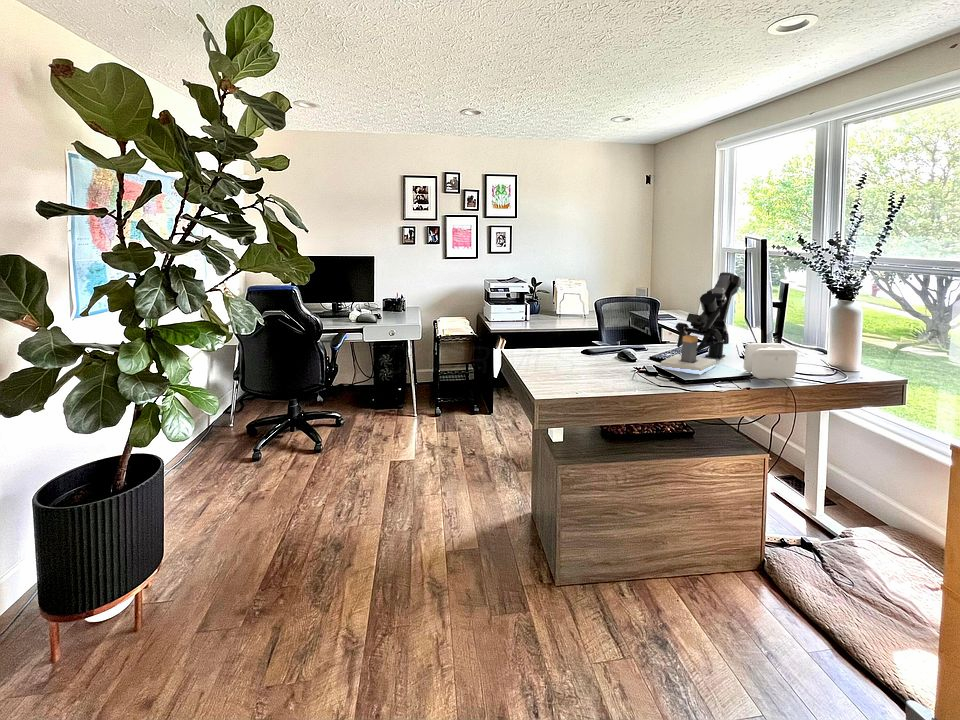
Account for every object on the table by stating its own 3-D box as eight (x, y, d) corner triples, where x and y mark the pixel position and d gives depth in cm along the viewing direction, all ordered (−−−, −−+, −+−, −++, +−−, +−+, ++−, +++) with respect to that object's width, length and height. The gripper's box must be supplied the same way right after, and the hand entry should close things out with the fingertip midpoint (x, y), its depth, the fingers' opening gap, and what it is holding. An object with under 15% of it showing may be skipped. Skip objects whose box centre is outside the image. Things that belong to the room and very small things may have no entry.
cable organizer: (782, 372, 217) (786, 343, 214) (795, 380, 207) (799, 349, 204) (742, 372, 218) (745, 343, 215) (752, 379, 208) (756, 349, 205)
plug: (687, 366, 228) (689, 334, 225) (695, 368, 225) (697, 336, 222) (680, 367, 226) (682, 336, 223) (688, 369, 223) (691, 337, 219)
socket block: (676, 360, 236) (677, 354, 236) (715, 366, 226) (715, 359, 225) (660, 368, 225) (660, 361, 224) (700, 375, 214) (701, 368, 214)
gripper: (679, 303, 229) (659, 332, 226) (720, 308, 214) (698, 340, 211) (691, 319, 235) (671, 349, 232) (730, 326, 219) (710, 358, 217)
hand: (687, 348), depth 223 cm, fingers open, 9 cm apart
